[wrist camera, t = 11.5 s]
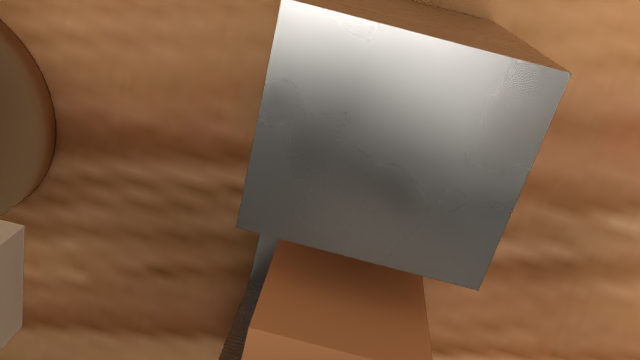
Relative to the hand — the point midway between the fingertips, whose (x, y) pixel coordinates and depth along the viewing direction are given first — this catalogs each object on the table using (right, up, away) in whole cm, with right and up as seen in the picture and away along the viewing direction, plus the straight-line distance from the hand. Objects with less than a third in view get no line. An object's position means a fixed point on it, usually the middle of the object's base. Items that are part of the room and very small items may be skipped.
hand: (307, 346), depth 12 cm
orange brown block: (+1, +2, +5) cm, 5 cm away
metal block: (+1, +3, +6) cm, 7 cm away
